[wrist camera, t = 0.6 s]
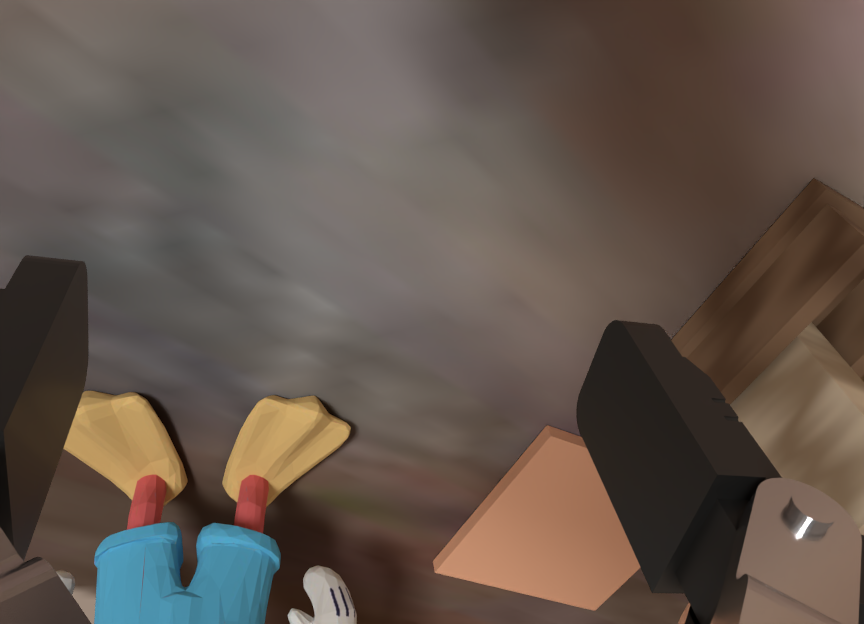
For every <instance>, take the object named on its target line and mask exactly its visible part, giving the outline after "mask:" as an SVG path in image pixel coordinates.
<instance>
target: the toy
mask: <svg viewBox="0 0 864 624" xmlns="http://www.w3.org/2000/svg"><path fill="white" fill-rule="evenodd" d="M350 430H351V427H350V426H349V425H348V424H347V423H346V422H344V421H343V420H341V419H339V418H337V417H335V416H333V415H331V414H329V413H328V412H327V410H326V409H325V407H324V406H323V405H322V403H321V402H320V400H319V399H318V398H317V397H316V396H307V397H301V398H293V399H285V398H282V397H279V396H276V395H272V396H268V397H266V398H264V399H262V400H260V401H258V403H257V404H256V406H255V407H254V409H253V410H252V412H251V413H250V414H249V416H248V418H247V419H246V421H245V423H244V425H243V427H242V428H241V430H240V433H239V435H238V438H237V440H236V443H235V445H234V448H233V450H232V453H231V455H230V458H229V460H228V463H227V466H226V470H225V474H224V478H223V482H222V484H223V486H224V488H225V490H226V492H227V493H228V495H229V496H230V497H231V498H232V499H234V500H235V501H236V502H237V508H236V514H235V521H234V525H227V524H219V523H212V524H210V525H208V526H205V527H203V528H202V530H201V532H200V534H199V536H198V539H197V544H196V548H197V562H198V565H197V569H196V573H195V575H194V577H193V579H192V581H191V583H190V585H189V586H188V587H185V588H184V587H183V586H182V584H181V578H180V568H181V565H182V563H183V546H182V535H181V531H180V528H179V526H177V525H176V524H175V523H174V522H166V523H160V521H161V515H162V510H163V506H164V505H166V504H167V503H168V502H170V501H171V500H172V499H174V498H175V497H176V496H177V495H178V494H179V493H180V492H181V491H183V489H184V487H185V486H186V484H187V482H188V480H187V477H186V473H185V470H184V467H183V464H182V462H181V460H180V458H179V455H178V453H177V451H176V449H175V447H174V445H173V443H172V441H171V439H170V437H169V435H168V433H167V431H166V429H165V427H164V425H163V423H162V422H161V420H160V419H159V417H158V416H157V414H156V413H155V411H154V410H153V408H152V406H151V405H150V403H149V402H148V400H147V399H146V398H144V397H142V396H141V395H139V394H137V393H135V392H129V393H125V394H120V395H111V394H106V393H101V392H96V391H85V392H83V394H82V397H81V400H80V402H79V405H78V408H77V411H76V414H75V417H74V419H73V422H72V425H71V428H70V431H69V434H68V436H67V439H66V442H65V445H64V449H65V450H67V451H68V452H70V453H71V454H72V455H74V456H75V457H77V458H78V459H80V460H81V461H83V462H84V463H86V464H87V465H89V466H90V467H91V468H93V469H94V470H96V471H97V472H99V473H100V474H102V475H103V476H105V477H106V478H107V479H109V480H110V481H112V482H113V483H114V484H115V485H116V486H117V487H119V488H120V489H121V490H122V491H123V492H124V493H126V494H127V495H128V496H129V498H130V499H131V500H132V504H131V508H130V513H129V518H128V526H127V530H125V531H121V532H118V533H115V534H113V535H110V536H108V537H107V538H105V539H104V540H103V541H102V542H101V544H100V545H99V547H98V549H97V550H96V552H95V563H94V564H95V565H96V567H97V568H98V572H97V588H96V605H95V621H94V624H264V623H265V616H266V610H267V604H268V599H269V594H270V589H271V584H272V579H273V575H274V573H275V572H276V571H277V570H278V569H279V568H280V559H281V554H280V551H279V548H278V546H277V543H276V541H275V540H274V539H272V538H271V537H269V536H267V535H265V534H263V528H264V519H265V511H266V507H267V506H268V505H269V504H270V503H271V502H272V501H273V500H274V499H275V498H276V497H277V496H278V495H279V494H280V493H281V492H282V491H283V490H285V489H286V488H287V487H288V486H289V485H290V484H292V483H293V482H294V481H295V480H297V479H298V478H299V477H301V476H302V475H303V474H305V473H306V472H307V471H309V470H310V469H311V468H313V467H314V466H315V465H317V464H318V463H319V462H321V461H322V460H323V459H325V458H326V457H327V456H329V455H330V454H331V453H333V452H334V451H335V450H337V449H338V448H339V447H340V446H341V445H342V444H343V443H344V441H345V440H346V439H347V438H348V436H349V435H350ZM56 573H57V574H58V576H59V577H60V579H61V580H62V581H63V583H64V584H65V586H66V587H67V589H68V590H69V592H70V593H71V595H72V594H73V590H74V586H75V580H74V577H73V576H72V575H71V574H70V573H69V572H66V571H63V570H60V571H56ZM303 584H304V589H305V591H306V592H307V594H308V596H309V598H310V600H311V602H312V605H313V608H314V613H315V616H314V618H313V617H311V616H309V615H308V614H306V613H304V612H303V611H301V610H298V609H293V608H292V609H291V610H290V612H289V614H288V619H289V622H290V624H357V614H356V611H355V608H354V604H353V601H352V598H351V595H350V592H349V590H348V588H347V587H346V585H345V583H344V582H343V580H342V579H341V577H340V575H338V574H337V573H336V572H334V571H333V570H332V569H330V568H327V567H323V566H319V565H317V566H314V567H312V568H309V569H308V571H307V572H306V573H305V576H304V578H303Z"/></svg>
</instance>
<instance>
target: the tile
mask: <svg viewBox="0 0 864 624" xmlns="http://www.w3.org/2000/svg"><path fill="white" fill-rule="evenodd" d="M433 564H434V570H435V573H439V574H443V575H447V576H452V577H456V578H460V579H464V580H468V581H472V582H477V583H481V584H485V585H489V586H493V587H497V588H502V589H506V590H510V591H514V592H518V593H523V594H527V595H531V596H535V597H539V598H543V599H548V600H552V601H556V602H560V603H564V604H568V605H573V606H577V607H581V608H585V609H589V610H594V611H595V610H596V609H597V608H598V607H599V606H600V605H601V604H602V603H604V602H605V601H606V600H607V599H608V598H609V597H610V596H611V595H612V594H613V593H614V592H615V591H616V590H617V589H618V588H619V587H620V586H621V585H622V584H624V583H625V582H626V581H627V580H628V579H629V578H630V577H631V576H632V575H633V574H634V573H635V572H636V571H637V570H638V569H639V568H640V565H639V563H638V560H637V558H636V556H635V554H634V551H633V549H632V547H631V545H630V543H629V540H628V538H627V536H626V534H625V531H624V529H623V527H622V525H621V523H620V520H619V518H618V516H617V514H616V512H615V509H614V507H613V505H612V503H611V500H610V498H609V496H608V494H607V492H606V489H605V487H604V485H603V483H602V480H601V478H600V476H599V474H598V472H597V469H596V467H595V465H594V463H593V460H592V458H591V456H590V454H589V452H588V449H587V447H586V445H585V443H584V441H583V438H582V437H580V436H577V435H574V434H571V433H569V432H566V431H563V430H560V429H557V428H554V427H551V426H548V425H547V426H546V427H545V428H544V429H543V430H542V432H541V433H540V434H539V435H538V436H537V438H536V439H535V440H534V441H533V442H532V444H531V445H530V446H529V447H528V448H527V450H526V451H525V452H524V453H523V454H522V456H521V457H520V458H519V459H518V460H517V461H516V463H515V464H514V465H513V466H512V467H511V469H510V470H509V471H508V472H507V473H506V475H505V476H504V477H503V478H502V479H501V481H500V482H499V483H498V484H497V485H496V487H495V488H494V489H493V490H492V491H491V492H490V494H489V495H488V496H487V497H486V498H485V500H484V501H483V502H482V503H481V504H480V506H479V507H478V508H477V509H476V510H475V512H474V513H473V514H472V515H471V516H470V518H469V519H468V520H467V521H466V522H465V523H464V525H463V526H462V527H461V528H460V529H459V531H458V532H457V533H456V534H455V535H454V537H453V538H452V539H451V540H450V541H449V543H448V544H447V545H446V546H445V547H444V548H443V550H442V551H441V552H440V553H439V554H438V556H437V557H436V558H435V559H434V560H433Z"/></svg>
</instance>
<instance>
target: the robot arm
mask: <svg viewBox="0 0 864 624" xmlns="http://www.w3.org/2000/svg"><path fill="white" fill-rule="evenodd" d="M87 367H88V289H87V269H86V265H85V263H84V262H83V261H75V260H65V259H56V258H47V257H38V256H29V255H27V256H25V257H24V258H23V259H22V261H21V262H20V264H19V266H18V268H17V269H16V271H15V273H14V274H13V276H12V278H11V279H10V281H9V283H8V285H7V286H6V288H5V289H0V624H91V623H90V621H89V620H88V618H87V617H86V615H85V614H84V612H83V611H82V609H81V608H80V606H79V605H78V603H77V602H76V601H75V599H74V598H73V596H72V595H71V593H70V592H69V590H68V589H67V587H66V586H65V584H64V583H63V581H62V580H61V579H60V577H59V576H58V574H57V573H56V571H55V570H54V569H53V568H52V566H51V565H50V564H49V563H48V562H47V561H46V560H44V559H43V558H41V557H35V558H33V559H31V560H29V561H27V562H24V559H25V556H26V553H27V550H28V547H29V544H30V542H31V539H32V536H33V533H34V530H35V527H36V524H37V522H38V519H39V516H40V513H41V510H42V507H43V505H44V502H45V499H46V496H47V493H48V490H49V488H50V485H51V482H52V479H53V476H54V473H55V471H56V468H57V465H58V462H59V459H60V456H61V454H62V451H63V448H64V445H65V442H66V439H67V436H68V434H69V431H70V428H71V425H72V422H73V419H74V417H75V414H76V411H77V408H78V405H79V402H80V400H81V397H82V394H83V390H84V386H85V381H86V375H87ZM725 400H726V399H725V397H724V396H723V395H722V393H721V392H720V390H719V389H718V388H717V386H716V385H715V383H714V382H713V381H712V379H711V378H710V377H709V376H708V375H707V374H705V373H704V372H703V371H702V370H701V369H699V368H698V367H697V366H696V365H694V364H693V363H692V362H691V361H689V360H688V359H687V358H686V357H682V355H681V354H680V352H679V351H678V350H677V348H676V347H675V345H674V344H673V342H672V341H671V340H670V338H669V337H668V335H667V334H666V332H665V331H664V330H663V328H662V327H660V326H659V325H656V324H647V323H637V322H628V321H619V320H615V321H612V322H611V323H610V324H609V325H608V326H607V327H606V329H605V331H604V333H603V336H602V338H601V341H600V343H599V346H598V348H597V351H596V353H595V356H594V358H593V361H592V363H591V366H590V368H589V371H588V373H587V376H586V378H585V381H584V383H583V386H582V388H581V391H580V394H579V397H578V402H577V424H578V428H579V431H580V434H581V436H582V438H583V441H584V443H585V445H586V447H587V449H588V452H589V454H590V456H591V458H592V460H593V463H594V465H595V467H596V469H597V472H598V474H599V476H600V478H601V480H602V483H603V485H604V487H605V489H606V492H607V494H608V496H609V498H610V500H611V503H612V505H613V507H614V509H615V512H616V514H617V516H618V518H619V520H620V523H621V525H622V527H623V529H624V531H625V534H626V536H627V538H628V540H629V543H630V545H631V547H632V549H633V551H634V554H635V556H636V558H637V560H638V563H639V565H640V567H641V569H642V571H643V574H644V576H645V578H646V580H647V583H648V585H649V587H650V589H651V591H652V593H685V595H686V597H687V599H688V601H689V603H688V605H687V607H686V608H685V610H684V612H683V613H682V615H681V617H680V620H679V623H678V624H864V535H861V533H860V530H859V528H858V526H857V524H856V523H855V521H854V520H853V518H852V517H851V516H850V515H849V514H848V512H847V511H846V510H845V509H844V508H843V507H842V506H840V505H839V504H838V503H837V502H836V501H835V500H833V499H832V498H831V497H829V496H828V495H826V494H825V493H823V492H821V491H820V490H818V489H816V488H814V487H812V486H810V485H807V484H805V483H802V482H799V481H796V480H792V479H787V478H782V477H781V475H780V474H779V473H778V471H777V470H776V468H775V467H774V466H773V464H772V463H771V462H770V460H769V459H768V457H767V456H766V455H765V453H764V452H763V450H762V449H761V448H760V446H759V445H758V443H757V442H756V441H755V439H754V438H753V436H752V435H751V434H750V432H749V431H748V429H747V428H746V427H745V425H744V424H743V422H739V421H738V418H739V417H738V416H737V414H736V413H735V411H734V410H733V409H732V407H731V406H730V404H728V403H725Z"/></svg>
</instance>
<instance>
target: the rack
mask: <svg viewBox="0 0 864 624" xmlns="http://www.w3.org/2000/svg"><path fill="white" fill-rule="evenodd" d="M811 322H812V323H813V324H814V325H815V327H816V328H817V329H818V330H819V331H820V332H821V333H822V335H823V336H824V337H825V338H826V339H827V340H828V341H829V343H830V344H831V345H832V346H833V347H834V348H835V350H836V351H837V352H838V353H839V354H840V355H841V356H842V358H843V359H844V360H845V361H846V362H847V363H848V364H849V366H850V367H851V368H852V369H853V370H854V371H855V372H856V374H857V375H858V376H859V377H860V378H861V377H862V376H863V375H864V208H863V207H861V206H860V205H858V204H856V203H855V202H853V201H851V200H850V199H848V198H846V197H845V196H843V195H841V194H840V193H838V192H836V191H835V190H833V189H831V188H830V187H828V186H826V185H825V184H823V183H821V182H820V181H818V180H816V179H815V178H814V179H813V180H812V181H811V182H810V183H809V184H808V185H807V187H806V188H805V189H804V190H803V191H802V192H801V193H800V194H799V196H798V197H797V198H796V199H795V200H794V201H793V202H792V204H791V205H790V206H789V207H788V208H787V209H786V210H785V211H784V213H783V214H782V215H781V216H780V217H779V218H778V219H777V221H776V222H775V223H774V224H773V225H772V226H771V227H770V228H769V230H768V231H767V232H766V233H765V234H764V235H763V236H762V238H761V239H760V240H759V241H758V242H757V243H756V244H755V245H754V247H753V248H752V249H751V250H750V251H749V252H748V253H747V255H746V256H745V257H744V258H743V259H742V260H741V261H740V262H739V264H738V265H737V266H736V267H735V268H734V269H733V270H732V272H731V273H730V274H729V275H728V276H727V277H726V278H725V280H724V281H723V282H722V283H721V284H720V285H719V286H718V287H717V289H716V290H715V291H714V292H713V293H712V294H711V295H710V297H709V298H708V299H707V300H706V301H705V302H704V303H703V304H702V306H701V307H700V308H699V309H698V310H697V311H696V312H695V314H694V315H693V316H692V317H691V318H690V319H689V320H688V321H687V323H686V324H685V325H684V326H683V327H682V328H681V329H680V331H679V332H678V333H677V334H676V335H675V336H674V337H673V338H672V340H671V341H672V342H673V344H674V345H675V347H676V348H677V350H678V351H679V352H680V354H681V355H682V357H686V358H687V359H688V360H689V361H691V362H692V363H693V364H694V365H696V366H697V367H698V368H699V369H701V370H702V371H703V372H704V373H705V374H707V375H708V376H709V377H710V378H711V379H712V381H713V382H714V383H715V385H716V386H717V388H718V389H719V390H720V392H721V393H722V395H723V396H724V397H725V399H726V400H725V403H728V404H731V403H732V402H733V401H734V400H735V399H736V398H737V397H738V396H739V395H740V394H741V393H742V392H743V391H744V390H745V389H746V388H747V387H748V386H749V385H750V384H751V383H752V382H753V381H754V380H755V379H756V378H757V377H758V376H759V375H760V374H761V373H762V372H763V371H764V370H765V369H766V368H767V367H768V366H769V365H770V364H771V363H772V362H773V361H774V360H775V359H776V358H777V357H778V355H779V354H780V353H781V352H782V351H783V350H784V349H785V348H786V347H787V346H788V345H789V344H790V343H791V342H792V341H793V340H794V339H795V338H796V337H797V336H798V335H799V334H800V333H801V332H802V331H803V330H804V329H805V328H806V327H807V326H808V325H809V324H810V323H811Z"/></svg>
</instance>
